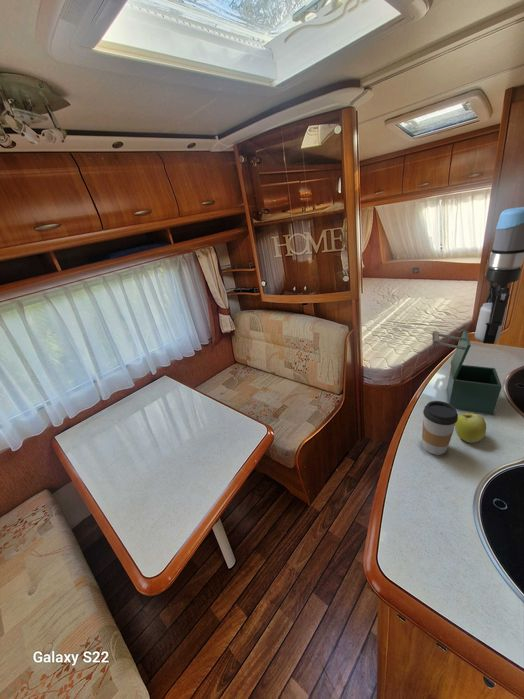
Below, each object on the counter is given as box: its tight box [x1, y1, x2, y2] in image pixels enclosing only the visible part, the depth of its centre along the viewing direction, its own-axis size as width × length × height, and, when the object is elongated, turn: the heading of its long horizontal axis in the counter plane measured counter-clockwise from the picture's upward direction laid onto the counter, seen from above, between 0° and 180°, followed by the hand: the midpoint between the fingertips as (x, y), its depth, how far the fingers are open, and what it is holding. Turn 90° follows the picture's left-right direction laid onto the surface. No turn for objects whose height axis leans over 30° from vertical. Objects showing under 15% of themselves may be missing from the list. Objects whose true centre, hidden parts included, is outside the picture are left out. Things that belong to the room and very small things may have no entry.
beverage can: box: [474, 302, 508, 343], centre depth 86 cm, size 6×6×12 cm
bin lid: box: [431, 329, 472, 379], centre depth 94 cm, size 13×12×10 cm
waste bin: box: [446, 364, 503, 416], centre depth 96 cm, size 13×12×12 cm
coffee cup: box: [421, 400, 459, 456], centre depth 80 cm, size 8×8×15 cm
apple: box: [454, 412, 487, 443], centre depth 83 cm, size 8×8×10 cm
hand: (486, 338), depth 89 cm, fingers closed on beverage can, 6 cm apart
